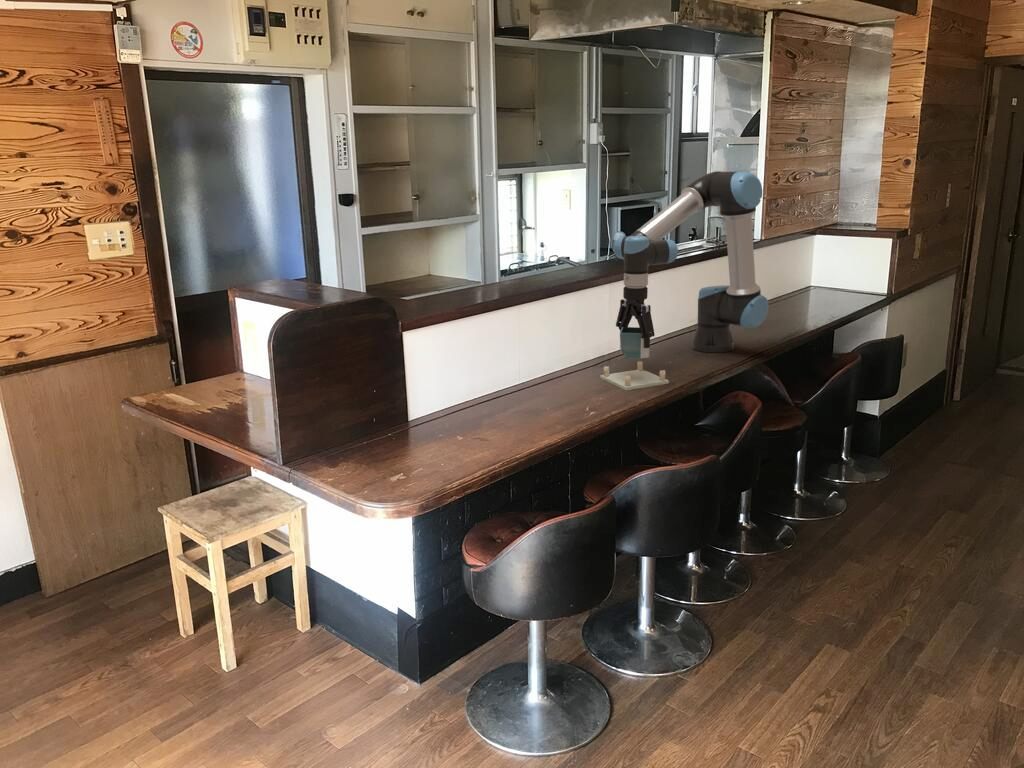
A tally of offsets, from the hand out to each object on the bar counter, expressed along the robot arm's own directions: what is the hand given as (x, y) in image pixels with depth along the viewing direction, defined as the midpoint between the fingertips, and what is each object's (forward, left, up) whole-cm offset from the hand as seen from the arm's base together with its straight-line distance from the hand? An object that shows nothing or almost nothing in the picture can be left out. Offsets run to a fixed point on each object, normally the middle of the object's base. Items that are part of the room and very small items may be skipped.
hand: (634, 353), depth 269 cm
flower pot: (0, 0, -1) cm, 1 cm away
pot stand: (0, 0, -9) cm, 9 cm away
